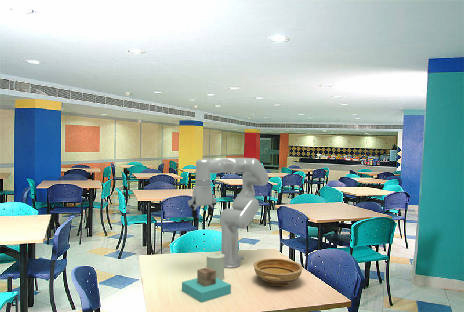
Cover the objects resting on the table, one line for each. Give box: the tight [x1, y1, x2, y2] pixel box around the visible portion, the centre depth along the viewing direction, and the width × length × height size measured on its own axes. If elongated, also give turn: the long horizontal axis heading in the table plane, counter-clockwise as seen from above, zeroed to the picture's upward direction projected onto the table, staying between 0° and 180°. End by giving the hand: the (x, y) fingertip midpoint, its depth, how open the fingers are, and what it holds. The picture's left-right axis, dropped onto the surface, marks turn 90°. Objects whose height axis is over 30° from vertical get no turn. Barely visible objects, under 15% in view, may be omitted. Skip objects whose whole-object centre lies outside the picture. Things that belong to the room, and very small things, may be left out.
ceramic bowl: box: [253, 258, 303, 287], centre depth 180 cm, size 30×24×8 cm
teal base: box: [181, 277, 232, 303], centre depth 166 cm, size 16×16×4 cm
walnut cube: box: [196, 266, 216, 287], centre depth 166 cm, size 6×6×6 cm
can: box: [206, 252, 225, 281], centre depth 184 cm, size 9×9×12 cm
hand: (202, 216), depth 187 cm, fingers open, 9 cm apart
